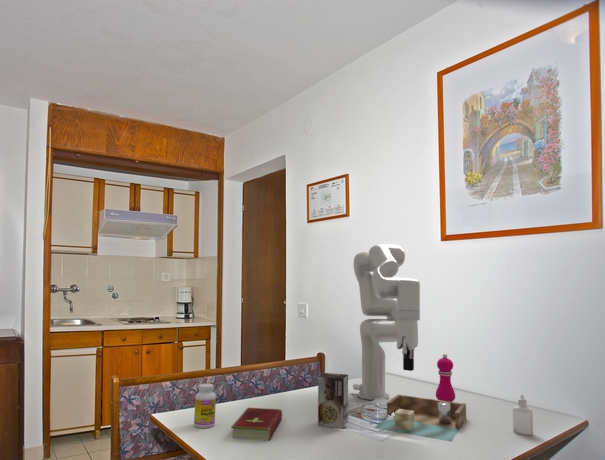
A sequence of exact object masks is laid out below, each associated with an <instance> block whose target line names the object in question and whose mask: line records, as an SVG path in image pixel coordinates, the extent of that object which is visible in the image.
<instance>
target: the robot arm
mask: <svg viewBox="0 0 605 460" xmlns="http://www.w3.org/2000/svg"><path fill="white" fill-rule="evenodd" d="M405 259H406V253H405V250H404V248H403V247H401V246H400V245H397V244H376V245H373V246H371V247H370V249H369V250H368V251H364V252H363V251H362V252H358V253H357V254H355V255H354V258H353V272H354V275H355V278H356V280H357V282H358V286H359V287H358V288H359V295H360V296H359V298H360V308H361V312H362V314H363V315H364V316H367V317H386V318H367V319H364V320H363V321H361V323H360V325H359V335H360V340H361V341H360V343H361V384H358V383H354V384H352V389H353V390H354V391H355V390H356V391H359V392H358V393H357V396H358V397H359V398H360V399H363V400H367V401H368V400H369V401H374V400H376V399H381V400H388V399H389V398H390V395H389V393H387V392H386V354H385V350H384V348H383V347H382V345H380V344H381V343H396V348H397V350H401V349H402V351H401V353H402V365H403V366H402V369H403V370H404V371H409V372H413V371H414V369H415V360H414V359H415V358H414V357H415V349H416V348H417V347H418V345H419V330H418V329H419V328H418V326H419V325H418V324H419V323H418V321H420V319H421V311H420V310H421V308H420V307H421V305H420V304H421V303H420V302H421V299H420V298H421V297H420V296H421V294H420V292H421V284H420V281H419V280H418V279H415V278H408V277H394V276H396V275H397V274H398V272H399V268H400V267H401V266H403V264H404V262H405Z"/></svg>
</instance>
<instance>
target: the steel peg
mask: <svg viewBox="0 0 605 460" xmlns="http://www.w3.org/2000/svg"><path fill="white" fill-rule="evenodd" d="M438 416H439V423H442V424H450V423H451V409H450V403H448V402H439V403H438Z"/></svg>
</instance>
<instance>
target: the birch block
mask: <svg viewBox="0 0 605 460" xmlns="http://www.w3.org/2000/svg"><path fill="white" fill-rule="evenodd" d="M413 428H414V411H411V410H404V409H398V410H397V411H396V412H395V429H400V430H406V431H411V430H412V429H413Z"/></svg>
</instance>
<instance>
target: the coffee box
mask: <svg viewBox="0 0 605 460" xmlns="http://www.w3.org/2000/svg"><path fill="white" fill-rule="evenodd" d="M317 384H318V385H317V395H318V396H317V397H318V398H317V426H318V427H326V428H334V429H335V428H336V429H342V430H343V429H345V428H346V424H348V422H349V374H345V373H344V374H343V373H331V372H322V373H321V374H320V375H319V376H317Z"/></svg>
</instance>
